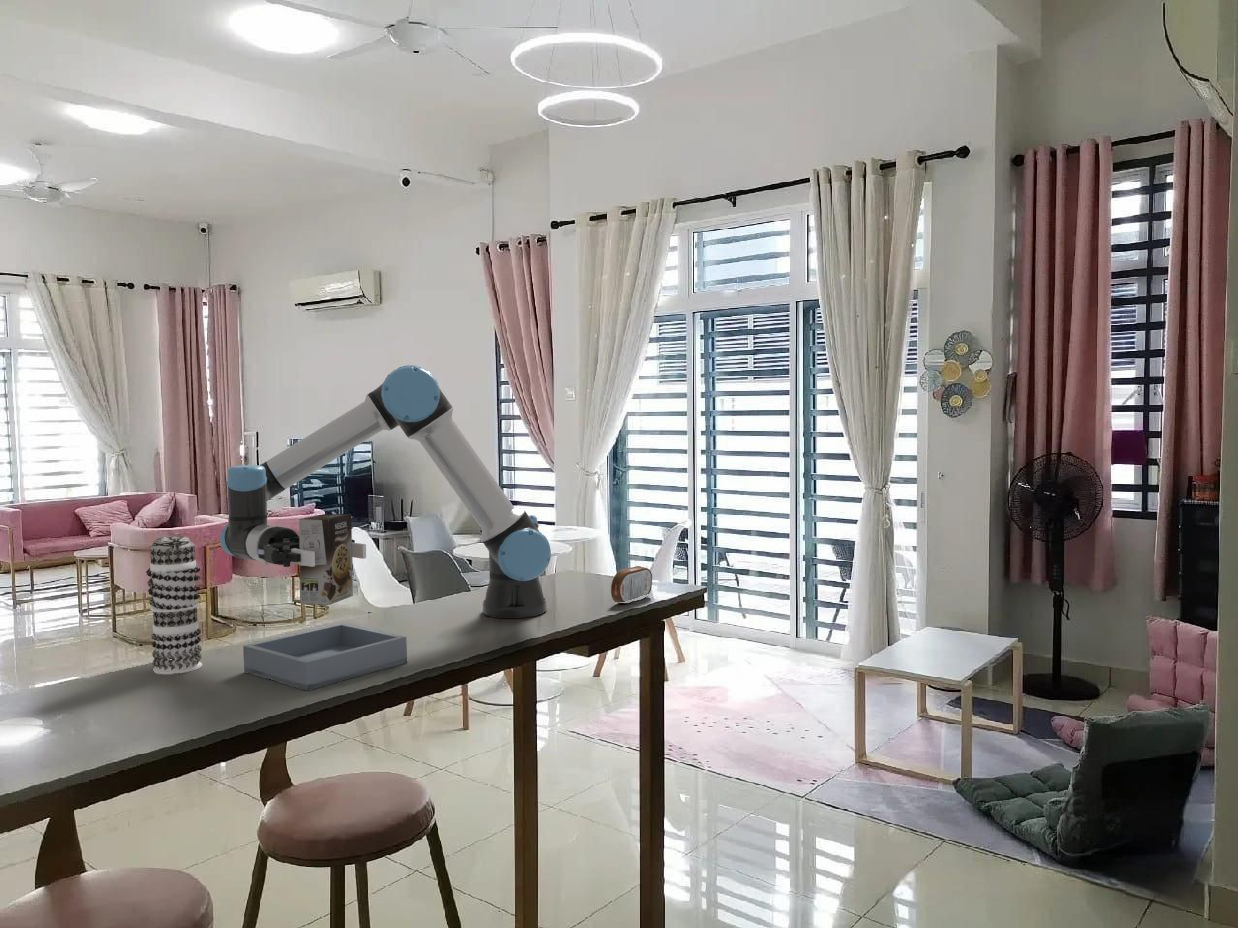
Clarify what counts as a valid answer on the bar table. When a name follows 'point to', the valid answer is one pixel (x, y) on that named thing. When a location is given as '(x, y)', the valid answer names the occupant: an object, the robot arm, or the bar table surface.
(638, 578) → the tin
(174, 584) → the decorative candle
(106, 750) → the bar table surface
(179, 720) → the bar table surface
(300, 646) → the tray
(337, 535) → the cookie box
